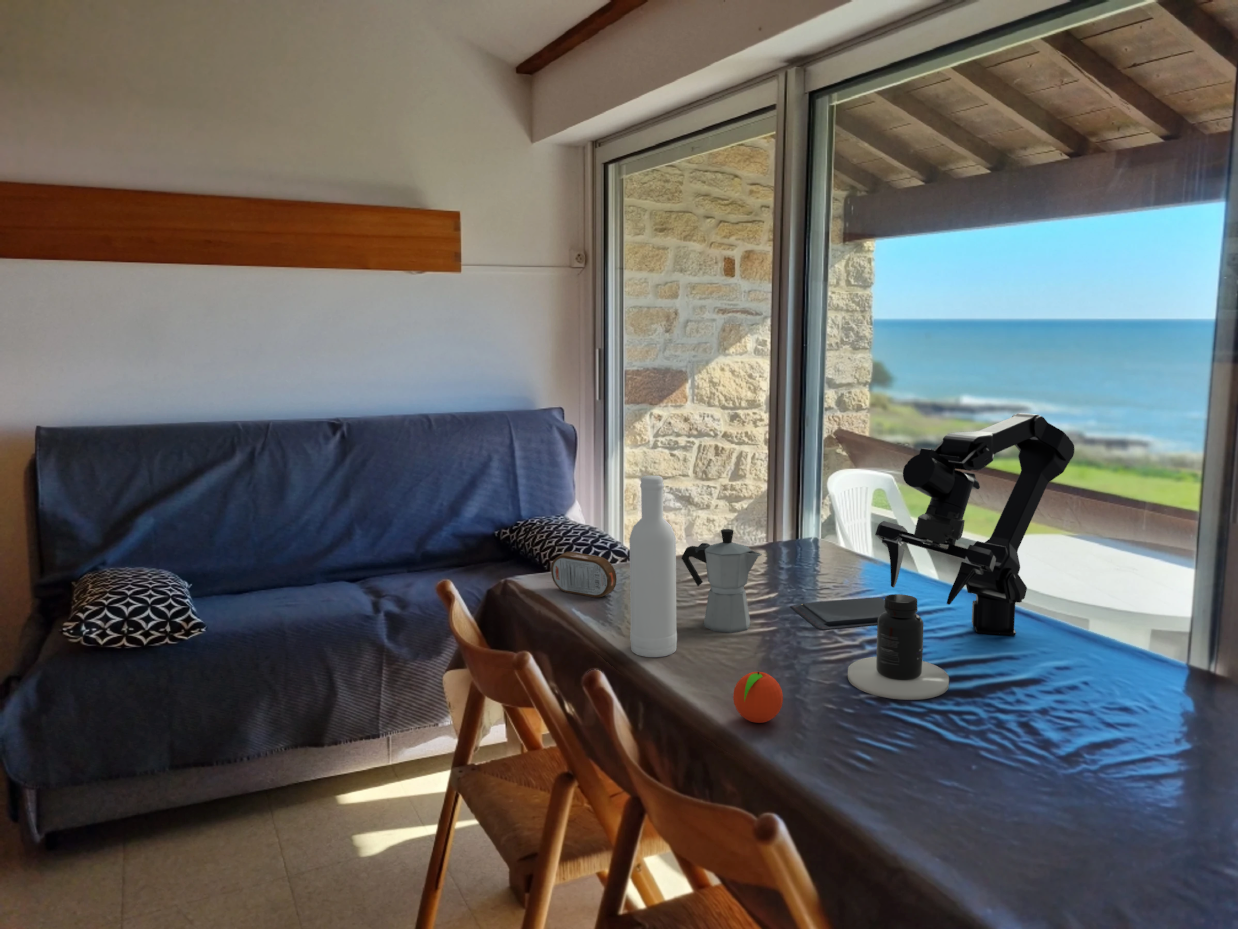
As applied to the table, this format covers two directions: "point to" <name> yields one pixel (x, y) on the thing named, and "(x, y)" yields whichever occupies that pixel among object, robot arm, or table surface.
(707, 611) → the coffee maker
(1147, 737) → the table surface
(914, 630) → the supplement bottle
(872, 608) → the dark grey flat block
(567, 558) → the tin
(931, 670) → the saucer
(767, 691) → the clementine
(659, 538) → the bottle
